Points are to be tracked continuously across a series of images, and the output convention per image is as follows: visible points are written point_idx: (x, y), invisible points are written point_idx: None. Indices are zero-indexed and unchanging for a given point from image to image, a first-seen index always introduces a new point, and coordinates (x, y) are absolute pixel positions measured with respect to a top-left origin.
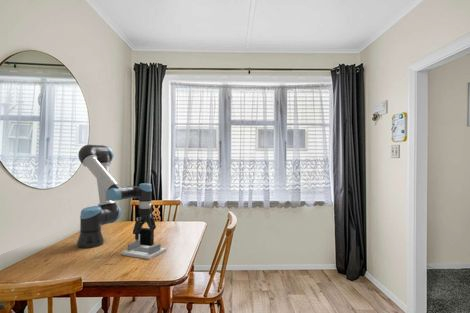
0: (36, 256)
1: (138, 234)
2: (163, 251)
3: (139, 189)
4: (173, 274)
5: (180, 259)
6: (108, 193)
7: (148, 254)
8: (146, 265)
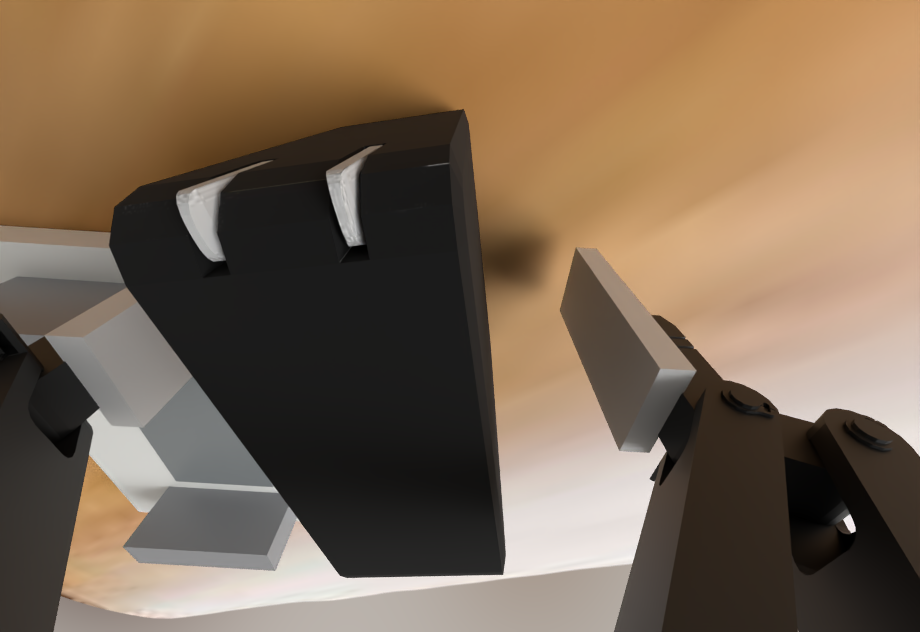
0: None
1: (84, 423)
2: None
3: None
4: (139, 602)
5: (287, 582)
6: None
7: (156, 493)
8: (83, 515)
